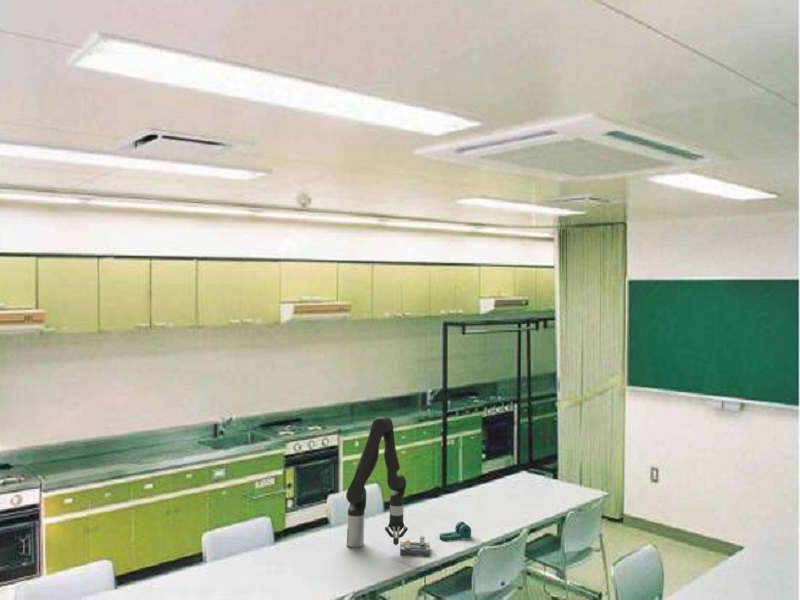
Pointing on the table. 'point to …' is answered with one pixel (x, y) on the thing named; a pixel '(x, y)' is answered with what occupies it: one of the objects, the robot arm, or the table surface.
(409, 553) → the panel
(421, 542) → the block
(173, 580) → the table surface
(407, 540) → the block
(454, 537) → the bracket
